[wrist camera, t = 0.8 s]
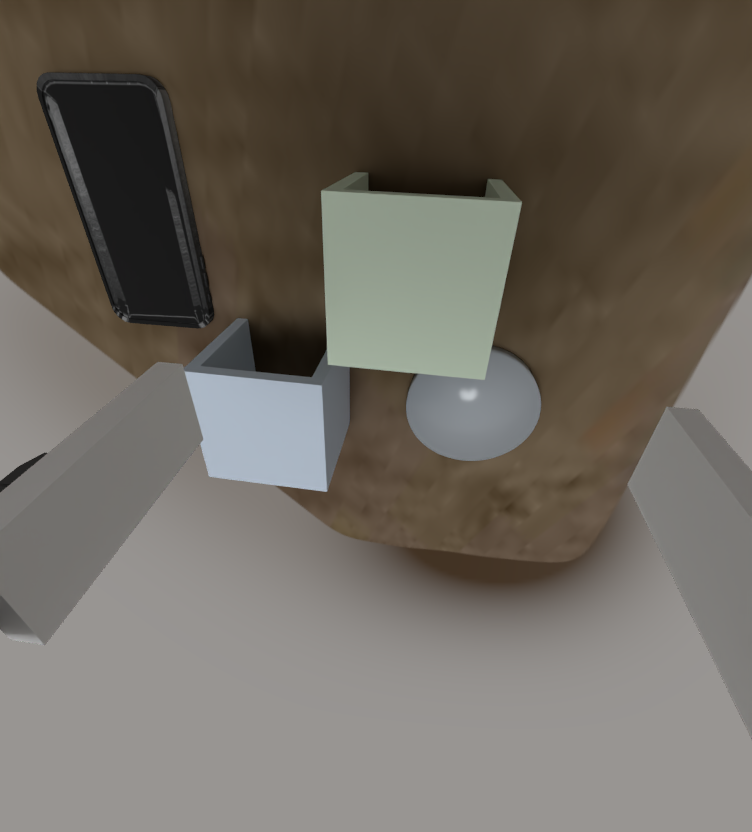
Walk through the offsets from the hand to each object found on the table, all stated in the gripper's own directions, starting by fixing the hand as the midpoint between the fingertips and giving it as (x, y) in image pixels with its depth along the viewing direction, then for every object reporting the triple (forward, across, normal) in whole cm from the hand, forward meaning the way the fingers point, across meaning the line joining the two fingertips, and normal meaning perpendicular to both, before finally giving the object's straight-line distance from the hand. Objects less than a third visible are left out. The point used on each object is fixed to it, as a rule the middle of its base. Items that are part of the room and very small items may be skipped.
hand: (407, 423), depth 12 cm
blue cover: (+19, -10, -10) cm, 23 cm away
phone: (+19, -20, +1) cm, 28 cm away
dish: (+19, +4, -11) cm, 22 cm away
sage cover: (+19, -1, 0) cm, 19 cm away
